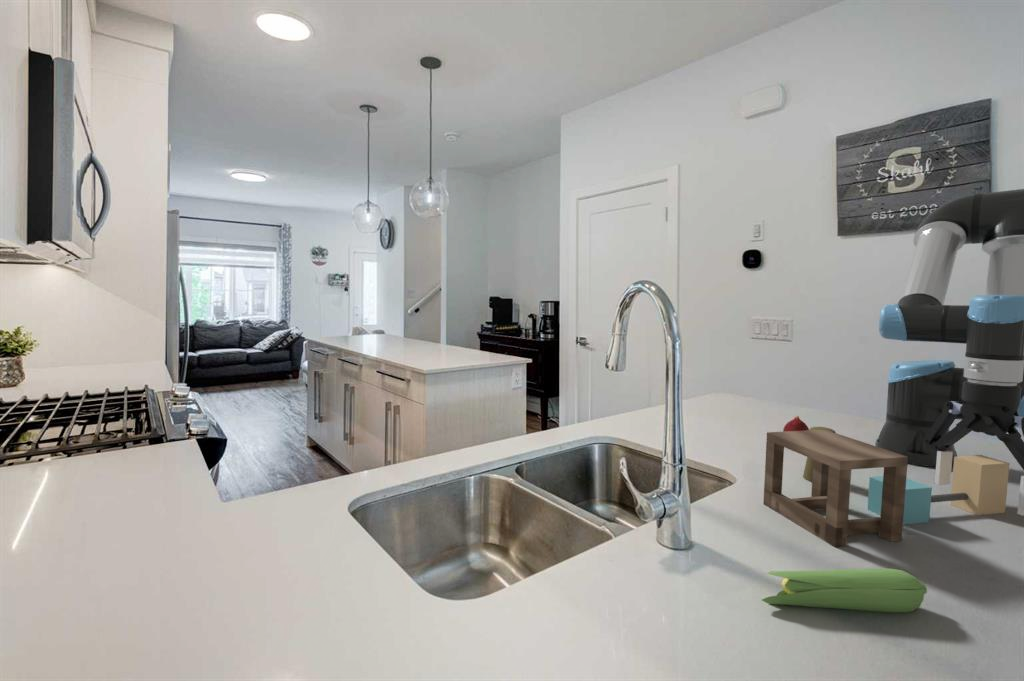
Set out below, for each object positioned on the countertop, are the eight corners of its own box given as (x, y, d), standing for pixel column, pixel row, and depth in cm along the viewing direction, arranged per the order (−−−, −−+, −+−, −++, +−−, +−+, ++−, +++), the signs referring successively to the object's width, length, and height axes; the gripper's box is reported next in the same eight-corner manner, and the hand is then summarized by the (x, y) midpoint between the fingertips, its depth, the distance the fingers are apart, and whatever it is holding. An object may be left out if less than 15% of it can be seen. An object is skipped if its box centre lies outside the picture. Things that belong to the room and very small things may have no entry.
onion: (813, 450, 122) (815, 418, 122) (790, 450, 122) (792, 418, 122) (800, 443, 128) (802, 413, 127) (778, 443, 128) (779, 413, 127)
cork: (842, 485, 99) (845, 432, 98) (809, 483, 100) (812, 430, 99) (829, 475, 105) (832, 424, 104) (798, 473, 106) (801, 423, 105)
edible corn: (944, 589, 57) (916, 559, 61) (765, 587, 58) (750, 557, 62) (932, 622, 58) (906, 590, 63) (759, 618, 60) (745, 587, 64)
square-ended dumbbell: (972, 500, 92) (976, 453, 91) (1009, 514, 86) (1014, 464, 85) (867, 509, 88) (870, 460, 87) (899, 524, 82) (903, 472, 81)
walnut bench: (820, 499, 92) (824, 429, 91) (901, 540, 77) (907, 456, 75) (763, 503, 90) (766, 432, 89) (835, 547, 74) (840, 461, 73)
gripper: (905, 372, 99) (898, 474, 100) (1065, 396, 74) (1051, 531, 76) (937, 371, 100) (929, 472, 102) (1103, 395, 75) (1089, 527, 77)
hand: (981, 498), depth 89 cm, fingers open, 13 cm apart
